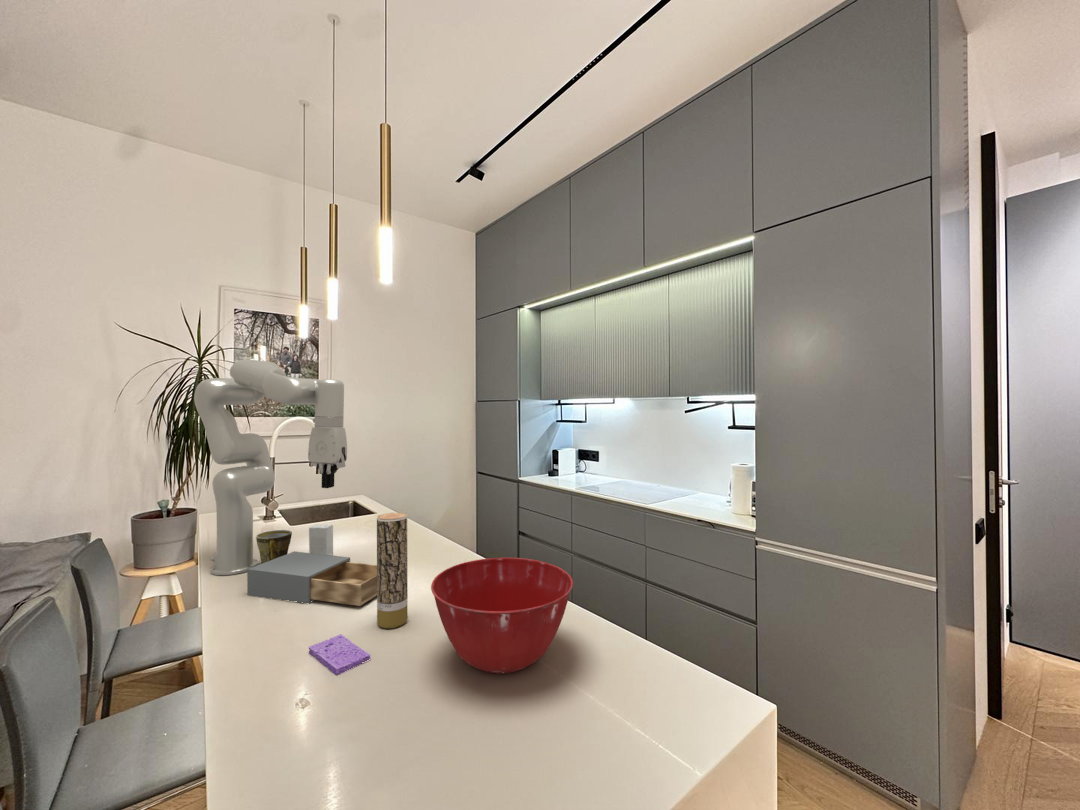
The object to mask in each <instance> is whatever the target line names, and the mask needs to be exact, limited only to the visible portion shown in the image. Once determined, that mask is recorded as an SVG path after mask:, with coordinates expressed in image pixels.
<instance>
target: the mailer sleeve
mask: <svg viewBox="0 0 1080 810" xmlns="http://www.w3.org/2000/svg"><path fill="white" fill-rule="evenodd" d="M344 562H351V557H349V556H341V555H339V556H338V555H334V554H333V555H323V554H314V553H309V552H304V551H303V552H302V551H292V552H290V553H287V554H286V555H284V556H281V557H278V558H276V559H273V560H270V561H268V562H265V563H263V564H262V563H259V565H257V566H255V567H252V568H249V569H247V571H246V573H247V575H246V576H247V577H246V578H247V579H246V580H247V584H246V585H247V590H246V591H247V593H246V594H247V596H249V597H250V596H251V597H256V596H257V598H263V597H265V598H264V599H270V598H272V599H271V600H276V599H281V600H280V601H283V600H289V601H288V602H290V601H297V602H303V603H302V604H304V603H309V604H311V603H312V602H311V601H313V600H314V599H310V578H311V577H314V576H316V575H318V574H320V573H322V572H324V571H326V570H329V569H331V568H333V567H335V566H337V565H339V564H342V563H344ZM297 602H296V603H297ZM310 602H311V603H310ZM313 602H314V601H313Z"/></svg>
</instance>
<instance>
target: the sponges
mask: <svg viewBox="0 0 1080 810" xmlns="http://www.w3.org/2000/svg"><path fill="white" fill-rule="evenodd" d="M346 637H347V636H344V635H343V634H342V633H340V634H337V635H336V636H332V637H330V638H329V639H325V640H323V641H321V642H317V643H314V644H313V645H312V644H311V645H310V646H308V654H310V655H311V656H312V657H314V658H315V659H316V660H317V661H319V663H321V664H322V665H323V666H324V667H325V668H326V669H328V670H329V671H330V672H331V673H333V674H334V675H338V674H339V675H342V674H344V673H346V672H348V671H350V670H352V669H354V668H356V667H357V665H358V666H360V665H359V664H361V663H362V662H365V661H367V660H369V659H370V660H371V654H370V653H369V652H367V651H365V650H364V649H363V648H361V647H359V646H358V645H356V643H354V642H352V641H351V640H350V639H349V638H346ZM365 663H366V662H365ZM361 665H362V664H361ZM355 666H356V667H355ZM353 667H354V668H353ZM351 668H352V669H351ZM349 669H350V670H349ZM347 670H348V671H347ZM345 671H346V672H345ZM341 673H342V674H341Z"/></svg>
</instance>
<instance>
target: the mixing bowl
mask: <svg viewBox="0 0 1080 810" xmlns="http://www.w3.org/2000/svg"><path fill="white" fill-rule="evenodd" d="M573 587H574V581H573V578H572V577H571V575H570V574H569V573H568V572H567V571H566V570H564V569H563V568H561V567H559V566H557V565H554V564H552V563H548V562H545V561H541V560H536V559H529V558H523V557H492V558H491V557H490V558H480V559H475V560H469V561H466V562H465V561H464V562H462V563H461V562H460V563H459V564H455V565H453V566H451V567H448V568H446V569H444V570H442V571H441V572H440V573H438V574H437V575H436V576H435V577H434V578H433V580H432V582H431V584H430V590H431V592H432V596H433V597H434V601H435V604H436V608H437V611H438V614H439V618H440V621H441V624H442V627H443V629H444V631H445V633H446V635H447V637H448V640H449V642H450V643H451V645H452V647H453V648H454V650H455V652H456V654H457V655H458V656H459V657H460V659H461V660H463V661H464V662H465V663H467V664H468V665H469V666H472V667H474V668H476V669H478V670H480V671H482V672H486V673H491V674H499V675H500V674H511V673H515V672H518V671H521V670H523V669H526V668H527V667H528V666H530V665H532V664H534V663H536V662H537V661H538V660H540V659H541V658H542V657H543V656H544V655H545V654H546V652H547V651H548V649H549V648H550V646H551V644H552V642H553V640H555V637H556V635H557V633H558V631H559V628H560V626H561V623H562V621H563V618H564V615H565V612H566V608H567V604H568V602H569V598H570V593H571V591H572V589H573Z"/></svg>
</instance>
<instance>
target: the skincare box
mask: <svg viewBox="0 0 1080 810" xmlns="http://www.w3.org/2000/svg"><path fill="white" fill-rule="evenodd" d="M308 538H309V539H308V540H309V541H308V545H309V546H308V548H309V549H308V553H314V554H323V555H333V556H334V525H333V524H315V525H313V526H309V527H308Z"/></svg>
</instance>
